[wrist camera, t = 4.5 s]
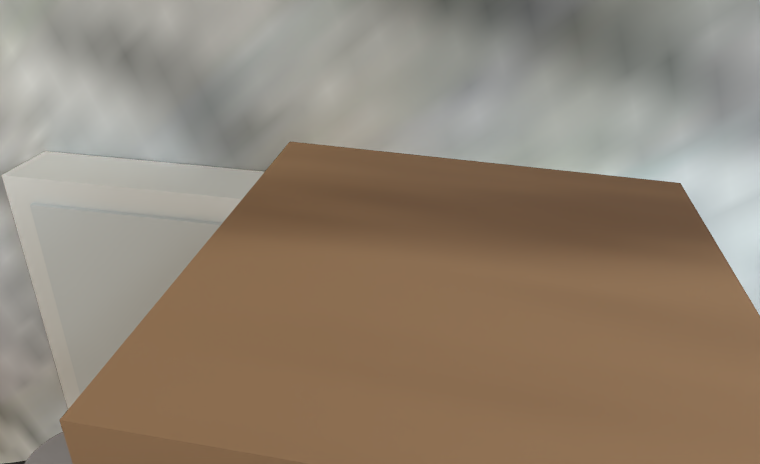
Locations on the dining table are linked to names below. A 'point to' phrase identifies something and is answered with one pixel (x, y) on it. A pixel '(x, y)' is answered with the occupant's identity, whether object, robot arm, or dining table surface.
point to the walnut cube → (437, 326)
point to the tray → (110, 244)
